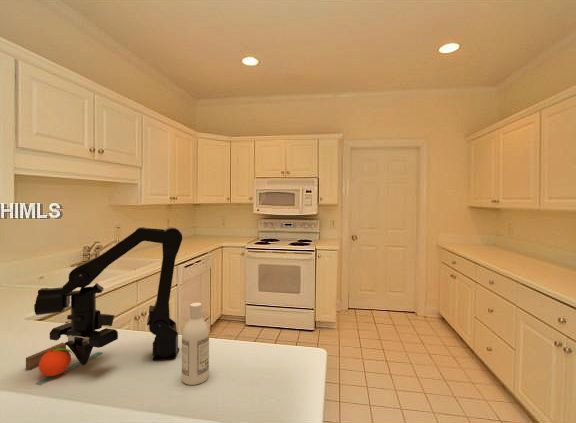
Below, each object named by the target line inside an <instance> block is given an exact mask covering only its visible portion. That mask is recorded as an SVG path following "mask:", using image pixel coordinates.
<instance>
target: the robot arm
mask: <svg viewBox="0 0 576 423" xmlns="http://www.w3.org/2000/svg"><path fill="white" fill-rule="evenodd" d="M142 242H150V243H158V244H161V245H162V246H161V248H162V261H161V266H160V274H159V281H158V286H157V295H156V301H155V303H154V305H149V308H148V316H147V318H146V320H147V321H146V326H147V327H148V329H149V332H150V333H151V334H152V335H154V340H153V341H152V356H153V357H152V361H167V360H175V359H177V358H176V357H177V356H178V353H179V352H180V347H179V332H178V330H177V329H178V328H177V327H178V326H177V323H176V321H174V320H173V319H172V318H171V317H170V298H171V293H172V292H171V291H172V284H173V277H174V269H175V262H176V258H177V256H178V254H179V250H180V247H181V244H182V242H183V234H182V232H181V231H180V230H179V229H178V228H176V227H173V226H172V227H171V226H170V227H168V228H166V229H163V228H150V227H149V228H148V227H145V226H144V227H143V226H141V227H140V226H139V227H137V228H136V230H135V231H133V232H132V233H131V234H129V235H128V236H127V237H125V238H123V239H122V240H121V241H119V242H117V243H116V244H114V246H112V247H111V248H109V249H108V250H106V251H104V252H103V253H102V254H99V255H98V256H96V257H93V258H91V259H88V260H87V261H84V262H83V263H81V264H79V265H78V266H76V267H75V268H73V269H72V270H71V271H70V272H69V273H68V281H67V282H66V283H65V284H64V285H62V286H61V287H51V288H50V287H43V288H40V289H38V290H37V296H36V299H35V303H34V306H33V307H34V308H33V309H34V314H35V315H36V316H41V315H50V314H58V313H64V312H65V311H66V309H67V308H69V307H70V314H68V315H67V316H66V317H67V319H66V320H70V322H67V323H66V322H65V323H64V324H61V325H58V326H56V327H53V328H52V329H51V330H50V332H49V340H50V341H51V340H52V341H55V342H56V341H59V340H60V339H61V337H62V335H64V336H66V338H67V341H65V342H64V343H65V345H66V347H68V348H69V350H70V351H71V352H72V354H73V356H75V358H76V359H77V362H80V363H81V365H80V366H86V365H87V364H88V359H89V356H91V355H92V354H91V353H92V351H93V349H94V348H98V349H99V348H103V347H105V346H106V345H109V344H111V343H112V342H115V341H116V340H118V339H119V331H118V330H117V329H113V328H108V327H112V326H113V323H114V319H115V315H114V314H107V313H101V310H99V309H97V308H96V307H97V306H96V305H97V303H96V301H97V299H96V298H97V295H96V294H101V293H102V292H103V291H104V290H105V289H104V288H105V287H103V286H101V285H100V284H99V283H98V282H95V284H94V285H93V286H89V285H90V284H91V283H92V282H93V281H94V280H95V279H96V278H97V277H99V275H101V273H103V271H104V270H106V268H107V267H109V266H110V265H112V264H113V263H114V262H115V261H117V260H118V259H120V258H121V257H122V256H124V255H125V254H126V253H128V252H129V251H131V250H133V249H134V248H136V247H137V246H139V245H140V244H141V243H142ZM77 288H80V289H77ZM76 289H77V290H76ZM104 326H105V328H103V329H102V327H104ZM106 326H108V327H106ZM100 329H101V330H100Z"/></svg>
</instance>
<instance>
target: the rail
mask: <svg viewBox="0 0 576 423" xmlns="http://www.w3.org/2000/svg"><path fill="white" fill-rule="evenodd" d="M65 343H66V342H61V343H57V344H56V345H53V346H51V347H49V348H46V349H43V350H41V351H38V352H36V353H34V354H32V355H30V356H27V357H25V371H32V370H34V369H37V368H39V362H40V360H41V358H42V356H43V355H44V354H45V353H47V352H48V351H49V350H51V349H54V348H66V349H67V345H65Z"/></svg>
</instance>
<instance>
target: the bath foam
mask: <svg viewBox="0 0 576 423" xmlns="http://www.w3.org/2000/svg"><path fill="white" fill-rule="evenodd" d="M202 306H203V305H202V303H201V302H193V303H191V304H189V319H188V320H187V322H186V324H185V325H184V327H183V330H182V335H181V380H182V382H183V384H185V385H188V386H195V385H199V384H202V383H203V382H205V381H206V380H207V379H208V378H209V374H210V368H209V367H210V365H209V364H210V331H209V326H208V324H207V322H206V321H205V320H204V318H203V317H202Z"/></svg>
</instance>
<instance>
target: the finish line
mask: <svg viewBox="0 0 576 423" xmlns="http://www.w3.org/2000/svg"><path fill="white" fill-rule="evenodd" d="M102 354H103V352H100V351H97V352H95V353H93V354H90V356H89V359H88V361H91V360H93V359H94V358H96V357H98V356H101V355H102ZM78 366H82V365H81V363H80V362H79V361H77V362H75V363H73V364H71V365H69V366H68V367H67V369H66V370H65V371H64V372H62V373H61V374H58V375H56V376H47V377H45V378H43V379H42V380H39V381H37V382H35V383H34V385H37V386H42V385H44V384H46V383H48V382H50V381H51V380H54V379H56V378H57V377H59V376H61V375H64V374H65V373H67V372H69V371H71V370H73V369H75V368H77V367H78Z"/></svg>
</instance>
